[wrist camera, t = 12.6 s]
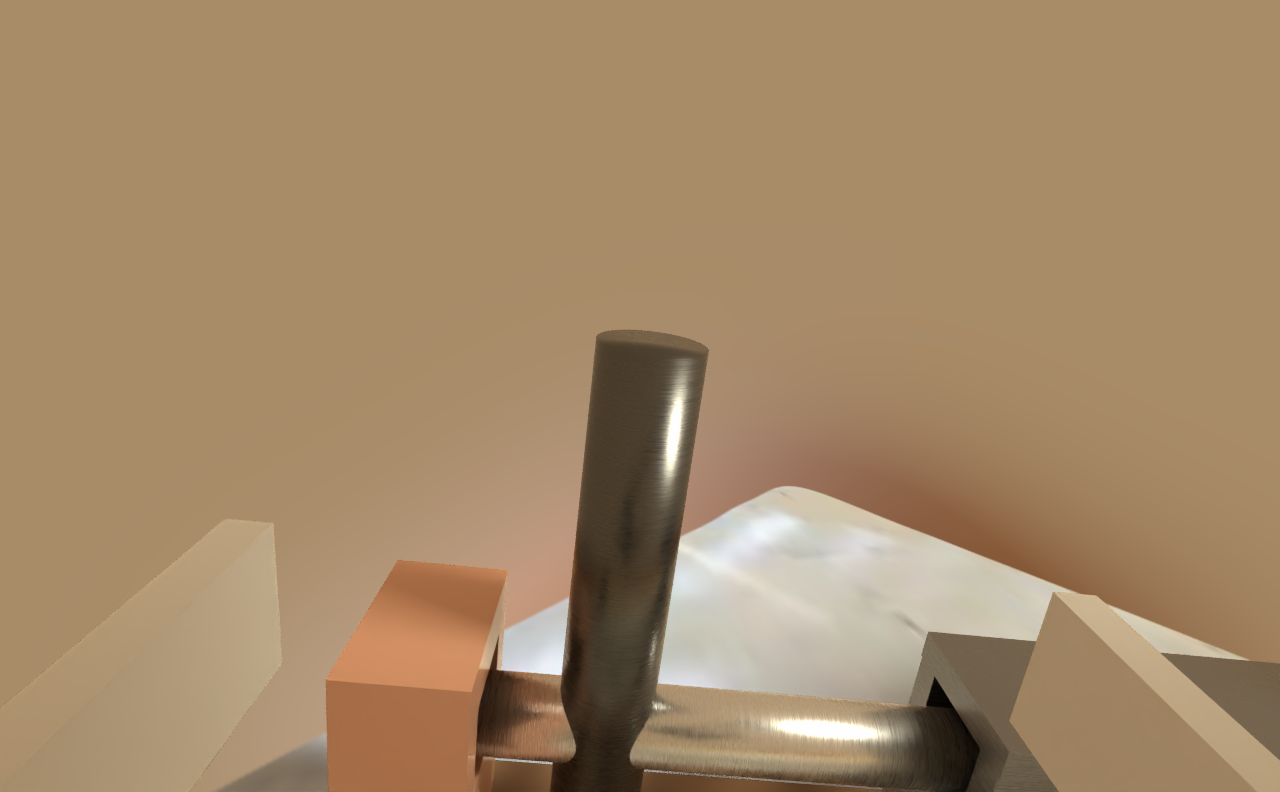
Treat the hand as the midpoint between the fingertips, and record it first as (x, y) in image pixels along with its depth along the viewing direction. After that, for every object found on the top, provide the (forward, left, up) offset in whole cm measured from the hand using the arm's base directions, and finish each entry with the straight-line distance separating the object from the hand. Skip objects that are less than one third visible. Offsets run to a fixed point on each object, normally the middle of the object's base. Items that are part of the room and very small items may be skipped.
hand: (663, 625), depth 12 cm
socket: (+7, -11, -20) cm, 24 cm away
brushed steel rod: (-5, -11, -18) cm, 22 cm away
